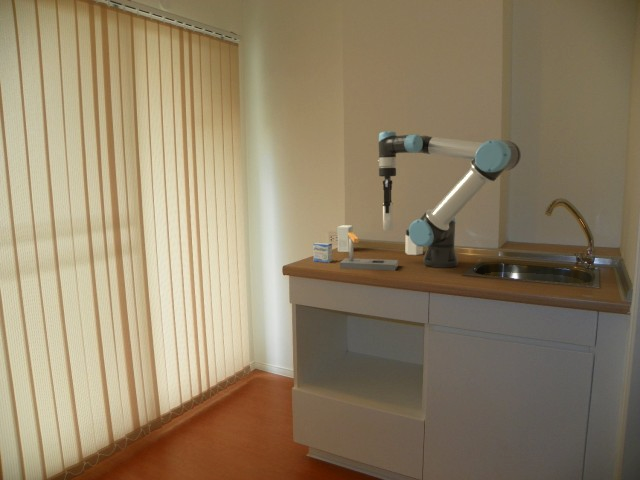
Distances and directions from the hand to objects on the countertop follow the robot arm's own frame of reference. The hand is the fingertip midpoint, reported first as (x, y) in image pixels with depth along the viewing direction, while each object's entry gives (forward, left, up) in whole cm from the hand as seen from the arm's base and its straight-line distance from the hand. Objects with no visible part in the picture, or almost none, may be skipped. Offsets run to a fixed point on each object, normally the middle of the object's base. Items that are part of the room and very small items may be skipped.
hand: (387, 219), depth 221 cm
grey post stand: (+7, +10, -20) cm, 24 cm away
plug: (0, 0, -4) cm, 4 cm away
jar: (-9, -28, -21) cm, 36 cm away
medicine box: (+31, 0, -21) cm, 37 cm away
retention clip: (+12, +17, -7) cm, 22 cm away
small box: (+27, -30, -21) cm, 45 cm away
